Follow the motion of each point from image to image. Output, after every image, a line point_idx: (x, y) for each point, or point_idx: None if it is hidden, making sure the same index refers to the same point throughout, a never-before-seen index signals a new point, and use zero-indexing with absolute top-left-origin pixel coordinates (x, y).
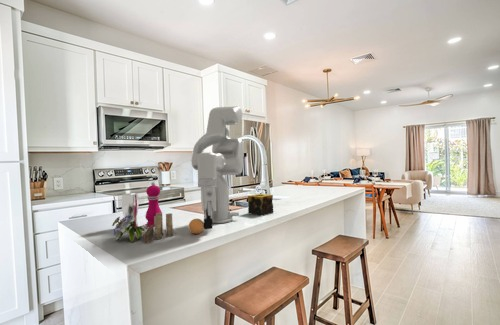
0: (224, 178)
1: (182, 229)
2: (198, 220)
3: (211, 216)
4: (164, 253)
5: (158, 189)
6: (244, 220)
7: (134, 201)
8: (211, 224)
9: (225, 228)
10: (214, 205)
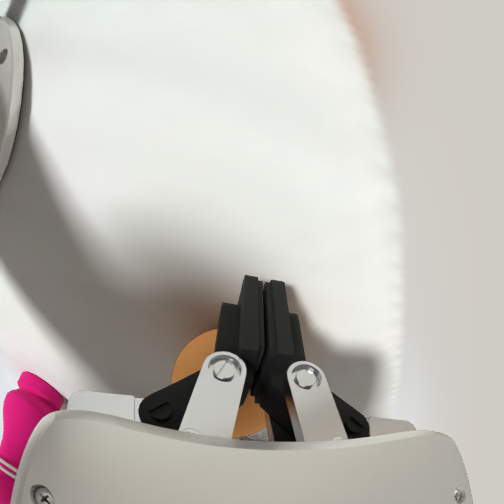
0: None
1: (105, 358)
2: (261, 422)
3: (328, 394)
4: (389, 416)
5: (5, 498)
6: None
7: None
8: (285, 311)
9: (189, 92)
10: (462, 499)
